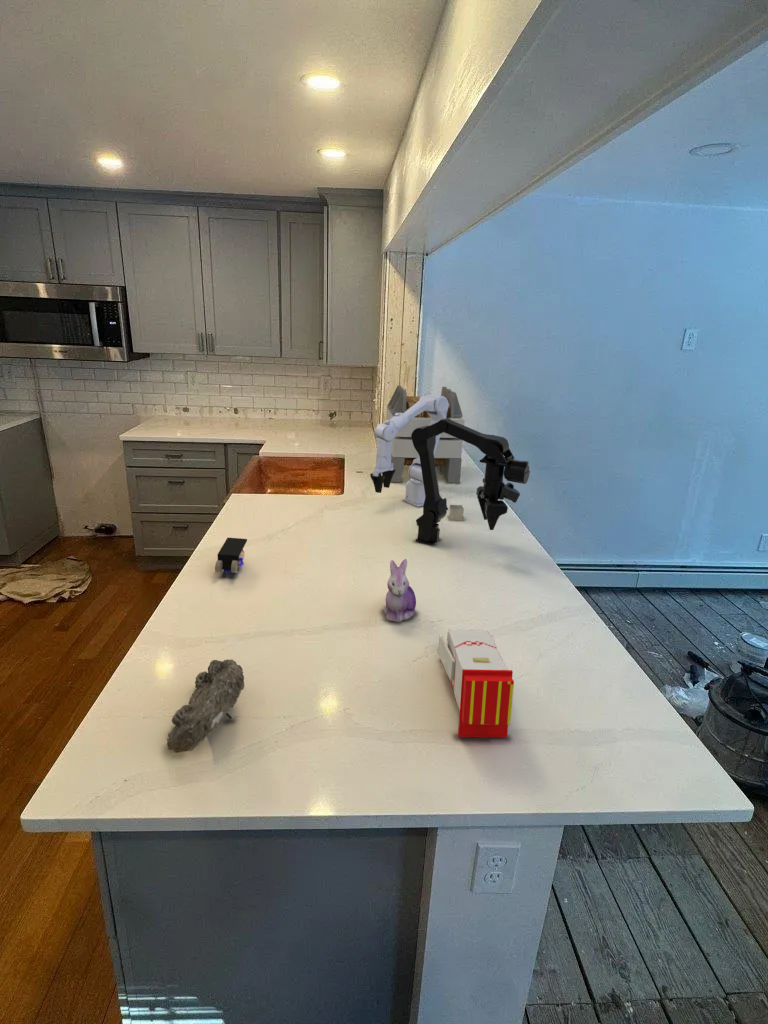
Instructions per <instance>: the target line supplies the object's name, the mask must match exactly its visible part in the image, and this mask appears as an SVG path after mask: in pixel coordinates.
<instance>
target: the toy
mask: <svg viewBox="0 0 768 1024" xmlns="http://www.w3.org/2000/svg"><path fill="white" fill-rule="evenodd" d="M446 640H447V643H446V641H445V639H444V636H443V635H442V634H439V637H438V646H437V656H438V657H439V659H440V661H441V663H442V666H443V668H444V670H445V672H446V674H447V677H448V679H449V681H450V684H451V687H452V690H453V693H454V697H455V701H456V705H457V708H458V711H459V714H458V715H459V716H458V730H457V731H458V732H457V737H458V738H508V731H509V726H510V725H511V717H512V707H513V697H514V696H513V695H514V684H515V680H514V679H513V673H514V671H513V670H512V669H508V667H507V665H506V662H505V661H504V659H503V658H502V655H501V653H500V651H499V649H498V647H497V643H496V639H495V637H494V635H493V634H491V632H490V631H489V629H467V628H466V629H465V628H463V629H461V628H460V629H459V628H448V630H447V639H446Z"/></svg>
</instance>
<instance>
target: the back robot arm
mask: <svg viewBox="0 0 768 1024" xmlns="http://www.w3.org/2000/svg"><path fill="white" fill-rule="evenodd" d="M419 397H420V399H419V401H418V402H417V403H415V404H414V405H413V406H412V407H410V408H409V409H408V410H407V411H406V412H404V413H396V414H395V416H394V417H392V418H391V419H389V420H387V421H386V420H385V422H383V423H382V422H381V423H379V424H377V425H376V426H375V428H374V431H373V435H374V436H375V439H376V440H375V441H376V455H375V457H376V459H375V467H374V470H372V473H370V478H371V481H372V483H373V487H374V491H375V493H377V494H378V493H379V494H381V493H382V491H383V488H387V489H389V488H390V487H391V483H392V482H391V479H392V477H393V475H394V473H395V469H394V468H393V463H391V454H392V440H393V439H394V438H395V436H396V434H397V432H399V431H400V430H402V429H403V428H404V427H406V426H407V425H408V422H409V420H410V419H412V418H414V417H415V416H417V415H419V414H420V413H422V412H423V411H426V412H427V413H428V414H429V415H430V417H431V423H430V425H432V424H435V423H437V422H438V421H440V420H442V419H445V418H446V414H447V410H448V407H449V403H448V401H447V399H446V398H445V397H444V396H441V395H436V394H432V393H430V392H426V393H424V394H423V395H421V396H419ZM440 436H441V434H439V435H437V436H436V444H435V448H434V453H435V450H436V447H437V445H438V442H439V439H440ZM407 473H408V477H409V478H410V479H408V481H407V482H406V484H405V495H404V498H403V501H404V502H406V503H409V504H410V505H413V506H416V507H423V505H424V501H425V490H424V484H423V477H422V470H421V464H420V457H418V458H416V459H415V460H414V461H413V463H412V465H411V466H409V467H408V472H407Z"/></svg>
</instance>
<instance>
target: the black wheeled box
mask: <svg viewBox="0 0 768 1024" xmlns="http://www.w3.org/2000/svg"><path fill="white" fill-rule="evenodd" d="M247 542H248V538H240V537H226V539H225V541H224V543H223V544H222V546H221V547H220V549H219V551H218V552H217V560H216V562H215V564H214V572H215V573H221V577H222V578H224V577H225V576H226V574H227V573H230V574H231V573H232V574H231V578H234V577H235V575H236V573H237V572H239V571H240V567H242V566H243V565H244V564H245V562H244V558H245V551H244V547H245V546H246V544H247Z"/></svg>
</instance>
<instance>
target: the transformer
mask: <svg viewBox="0 0 768 1024" xmlns="http://www.w3.org/2000/svg"><path fill="white" fill-rule="evenodd" d="M440 393H441V394H440V396H444V397H445V398H446V399H447V401H448V403H449V407H448V410H447V414H446V418H449V419H451V420H452V421H454V422H457V423H459V424H461V425H464V426H465V419H464V418H463V411H462V408H461V405H460V402H459V398H458V395H457V392H455V391H453V390H452V389H451V388H447V386H442V387H441V392H440ZM407 394H408V393H407V390H406V389H404V388H403V387H402V385H399V384H398V385H397V386H396V388H395V390H394V392H393V394H392V395H391V398H390V400H389V402H388V404H387V405H386V413H385V414H386V415H385V422H386V421H387V420H389V419H391V418H392V417H394V416H395V414H396V413H404V412H406V411H407V410H408V409H409V408H410V407H412V406H413V405H414V404H415V403H417V402H418V401H419V399H420V397H421V396H415V395H414V396H413V395H412V396H411V395H407ZM430 423H431V417H430V415H429V414H428V413H427V412H426V411H423V412H422V413H420V414H419V415H417V416H415V417H414V418H412V419H410V420H409V422H408V425H407V426H406V427H404V428H403V429H402V430H400V431H399V432H397V434H396V436H395V438H394V439H393V440H392V454H391V463H393V468H394V469H395V473H394V475H393V477H392V479H391V483H402V482H403V475H404V469H405V466H406V467H407V466H409V467H410V466H411V465H412V463H413V461H414V460H415V459H416V458H418V457H419V454H418V452H417V451H416V449H415V448H414V445H413V442H412V438H411V434H412V432H413V431H414V430H415V429H416V428H419V427H423V426H426V425H429V426H430ZM463 442H464V441H463V440H460V439H458V438H456V437H454V436H451V435H449V434H447V433H444V432H443V433H441V436H440V439H439V442H438V445H437V447H436V450H435V453H434V460H435V467H436V469H437V470H438V469H439V473H440V474H441V475H443V478H444V479H445V481H446V482H447V483H449V484H455V483H456V484H459V483H461V472H462V461H463V460H462V453H463Z"/></svg>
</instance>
